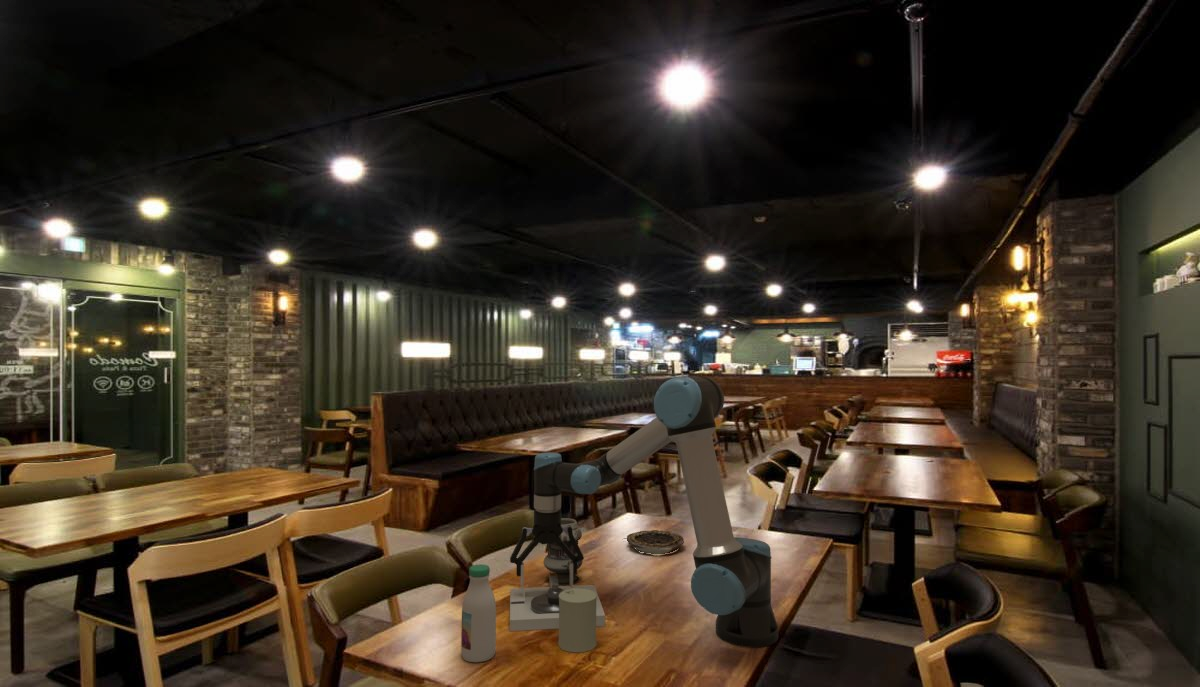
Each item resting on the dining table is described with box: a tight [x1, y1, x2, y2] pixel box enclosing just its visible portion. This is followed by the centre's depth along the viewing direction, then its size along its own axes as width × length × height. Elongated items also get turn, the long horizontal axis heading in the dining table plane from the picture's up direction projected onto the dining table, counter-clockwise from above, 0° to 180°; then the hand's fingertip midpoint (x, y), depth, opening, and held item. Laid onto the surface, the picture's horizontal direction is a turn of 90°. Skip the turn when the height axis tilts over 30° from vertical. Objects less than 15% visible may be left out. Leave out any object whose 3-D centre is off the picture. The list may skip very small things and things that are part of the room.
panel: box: [509, 584, 606, 632], centre depth 168 cm, size 22×24×3 cm
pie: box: [623, 529, 685, 554], centre depth 226 cm, size 28×27×5 cm
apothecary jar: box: [543, 517, 584, 586], centre depth 193 cm, size 12×12×18 cm
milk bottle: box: [460, 563, 497, 663], centre depth 143 cm, size 8×8×20 cm
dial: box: [531, 572, 563, 614], centre depth 170 cm, size 16×13×6 cm
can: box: [557, 588, 598, 654], centre depth 149 cm, size 9×9×12 cm
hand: (546, 586), depth 173 cm, fingers open, 13 cm apart
